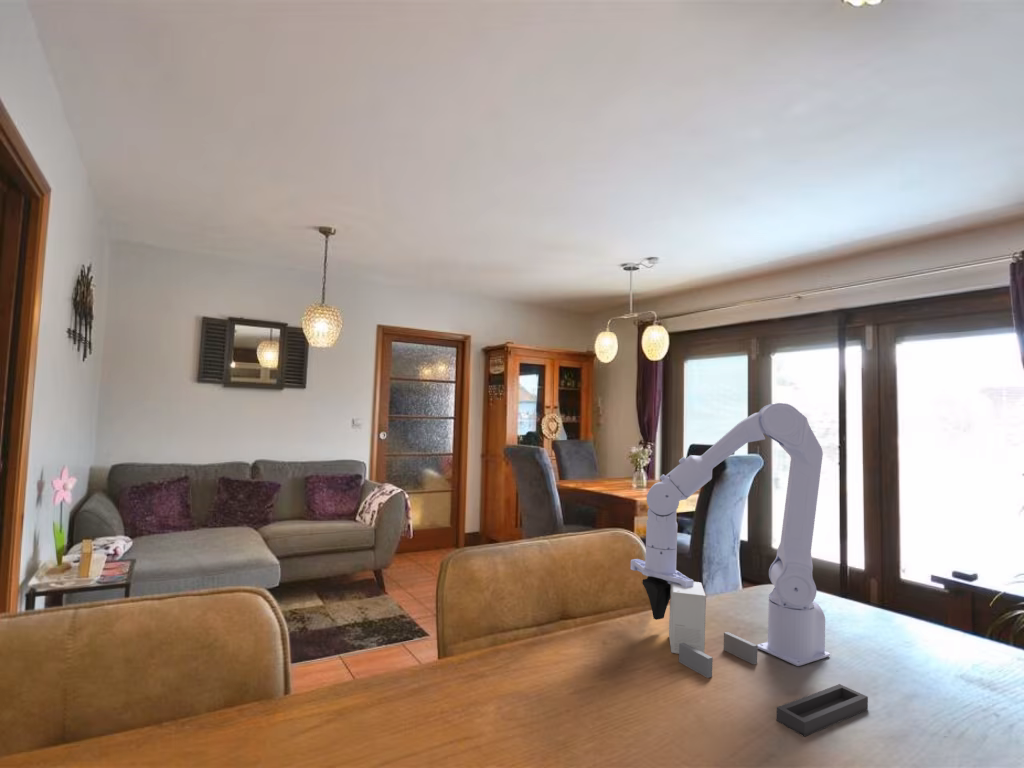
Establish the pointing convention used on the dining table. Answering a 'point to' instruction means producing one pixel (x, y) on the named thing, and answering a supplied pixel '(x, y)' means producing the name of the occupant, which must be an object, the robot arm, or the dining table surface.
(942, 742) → the dining table surface
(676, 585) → the small box
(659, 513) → the robot arm
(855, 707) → the tray
